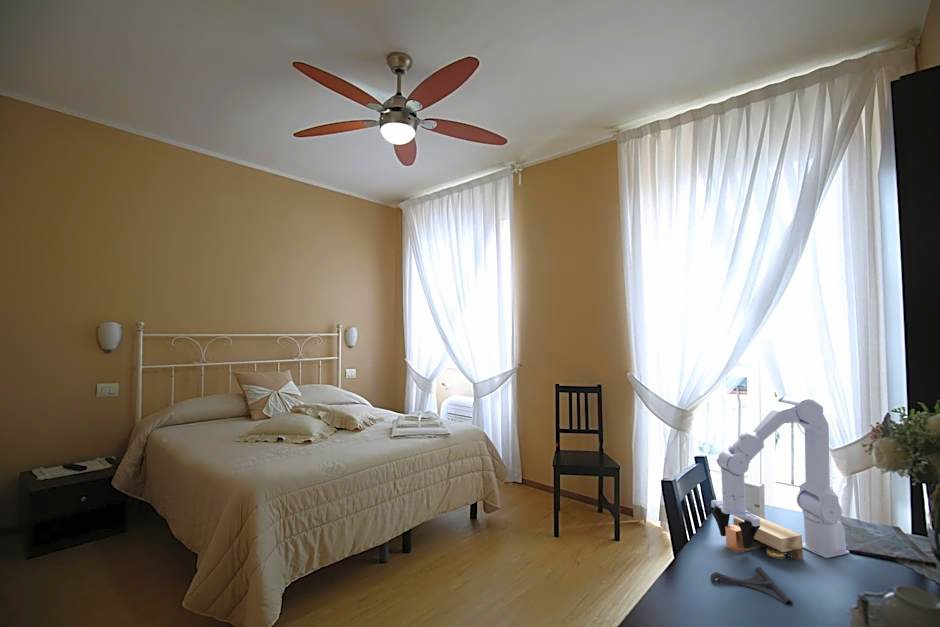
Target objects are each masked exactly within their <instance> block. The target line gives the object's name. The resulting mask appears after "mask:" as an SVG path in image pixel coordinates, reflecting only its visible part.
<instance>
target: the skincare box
mask: <svg viewBox="0 0 940 627" xmlns="http://www.w3.org/2000/svg"><path fill="white" fill-rule="evenodd" d="M744 482H745V504H746V510H747V511H748V512H750V513H751V514H753V515H756V516H758V517H761V518H763V519H765V520H766V513H765V510H766V509H765V508H766V506H765V502H766V500H765V483H761V482H757V481H754V480H749V479H746V478H744Z"/></svg>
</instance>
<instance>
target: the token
mask: <svg viewBox="0 0 940 627" xmlns="http://www.w3.org/2000/svg"><path fill="white" fill-rule="evenodd" d="M765 550H766V551H765V552H766V555H767V556H768V557H770V558H773V559H776V558H778V559H777V560H782V559H781V558H785V557H786V554H785V552H781V551H779V550H777V549H775V548H773V547H771V546H766V547H765ZM785 559H786V558H785Z"/></svg>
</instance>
